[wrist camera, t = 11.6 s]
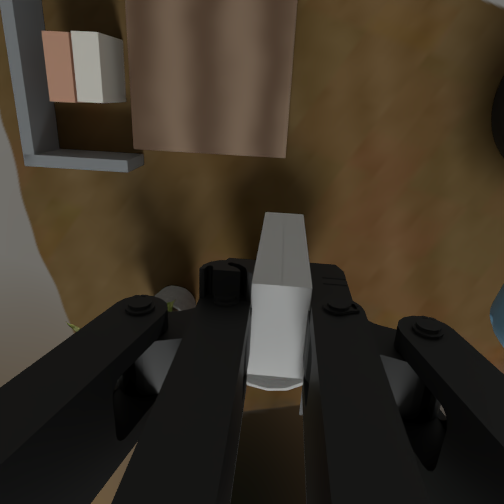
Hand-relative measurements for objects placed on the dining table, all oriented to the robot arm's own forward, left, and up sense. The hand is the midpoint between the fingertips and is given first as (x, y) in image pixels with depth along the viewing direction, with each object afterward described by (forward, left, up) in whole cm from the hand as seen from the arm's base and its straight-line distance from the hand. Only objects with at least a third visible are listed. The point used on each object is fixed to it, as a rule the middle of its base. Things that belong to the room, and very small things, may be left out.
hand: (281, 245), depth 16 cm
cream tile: (+18, -7, -28) cm, 33 cm away
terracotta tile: (+20, -7, -28) cm, 35 cm away
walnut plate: (+8, -7, -30) cm, 32 cm away
